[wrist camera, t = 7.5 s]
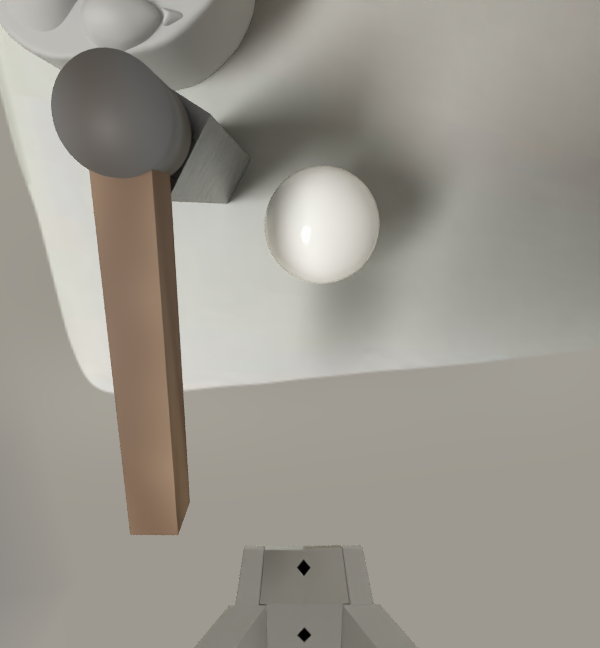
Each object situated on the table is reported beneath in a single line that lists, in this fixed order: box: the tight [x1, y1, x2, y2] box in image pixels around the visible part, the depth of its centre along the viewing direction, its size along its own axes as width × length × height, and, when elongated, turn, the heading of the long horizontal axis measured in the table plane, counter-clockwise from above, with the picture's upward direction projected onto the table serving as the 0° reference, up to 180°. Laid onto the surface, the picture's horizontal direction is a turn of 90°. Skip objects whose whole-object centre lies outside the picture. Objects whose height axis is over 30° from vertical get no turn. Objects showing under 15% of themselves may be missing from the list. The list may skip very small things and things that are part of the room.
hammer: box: [51, 47, 192, 535], centre depth 16 cm, size 4×18×3 cm, turn 179°
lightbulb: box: [265, 165, 380, 284], centre depth 25 cm, size 6×6×11 cm
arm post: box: [170, 88, 251, 204], centre depth 22 cm, size 4×4×14 cm
